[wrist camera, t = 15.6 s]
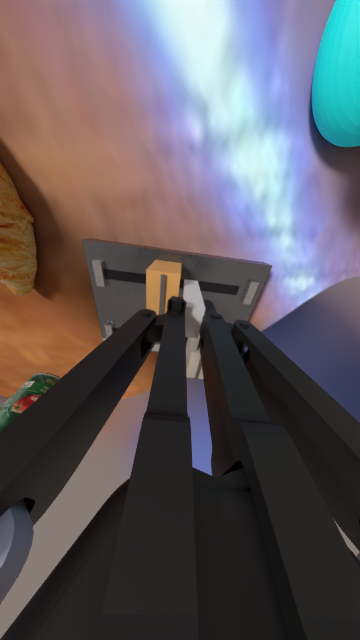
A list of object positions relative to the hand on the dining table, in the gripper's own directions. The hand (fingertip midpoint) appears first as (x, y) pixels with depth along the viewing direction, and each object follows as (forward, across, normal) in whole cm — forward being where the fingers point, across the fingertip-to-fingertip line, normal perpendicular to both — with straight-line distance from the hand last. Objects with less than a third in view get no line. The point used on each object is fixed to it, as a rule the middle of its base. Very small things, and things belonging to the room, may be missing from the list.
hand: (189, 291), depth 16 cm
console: (+5, -2, -4) cm, 6 cm away
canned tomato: (+5, -28, -28) cm, 41 cm away
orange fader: (+2, -3, 0) cm, 3 cm away
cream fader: (+2, +3, -9) cm, 10 cm away
